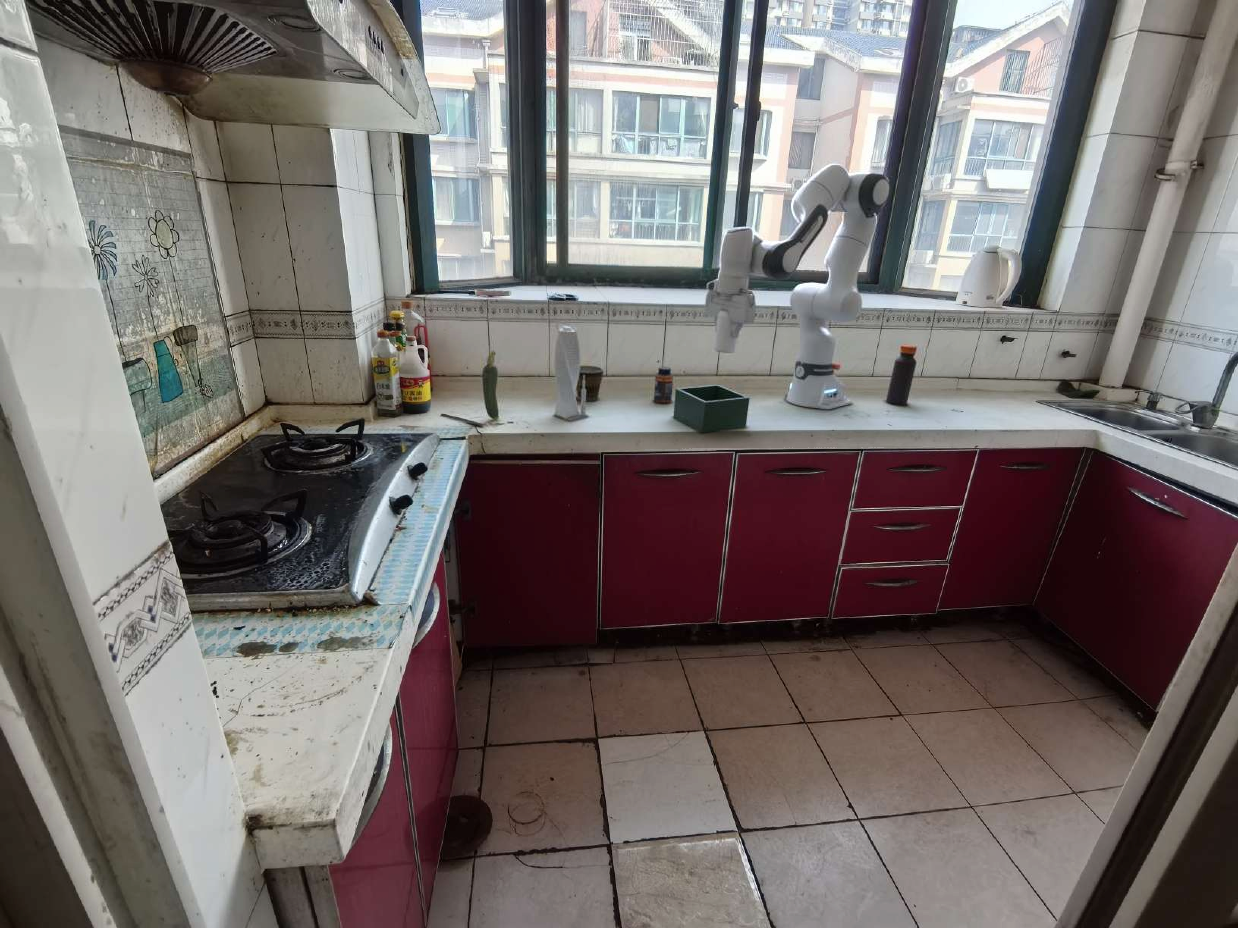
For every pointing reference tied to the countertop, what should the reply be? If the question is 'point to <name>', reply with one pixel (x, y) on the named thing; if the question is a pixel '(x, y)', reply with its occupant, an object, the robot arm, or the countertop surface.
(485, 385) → the vegetable
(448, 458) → the countertop surface
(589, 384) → the ceramic cup
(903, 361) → the vinegar
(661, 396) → the supplement bottle
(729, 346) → the can
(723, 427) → the bin
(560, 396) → the skyscraper
